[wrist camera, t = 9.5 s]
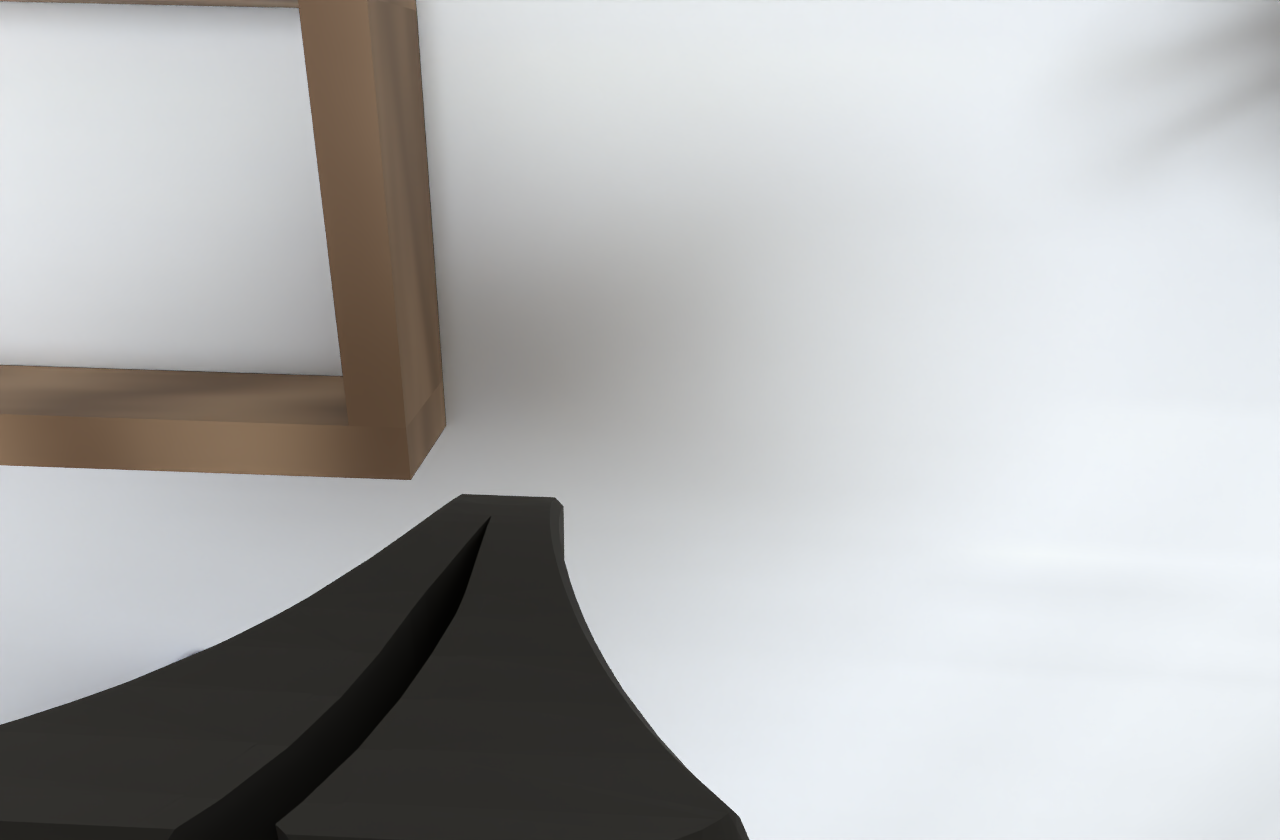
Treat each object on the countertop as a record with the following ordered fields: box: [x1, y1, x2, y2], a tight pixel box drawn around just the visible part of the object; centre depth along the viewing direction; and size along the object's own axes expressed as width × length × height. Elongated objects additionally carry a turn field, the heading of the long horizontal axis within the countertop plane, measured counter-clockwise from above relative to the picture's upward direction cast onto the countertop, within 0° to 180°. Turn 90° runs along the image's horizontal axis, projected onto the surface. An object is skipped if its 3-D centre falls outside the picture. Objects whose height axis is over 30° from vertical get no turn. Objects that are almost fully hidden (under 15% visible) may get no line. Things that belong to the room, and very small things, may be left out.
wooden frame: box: [0, 0, 446, 480], centre depth 17 cm, size 14×10×3 cm
